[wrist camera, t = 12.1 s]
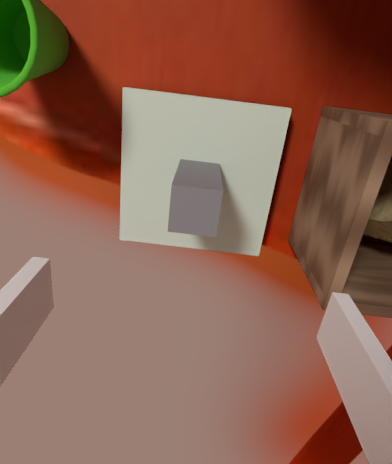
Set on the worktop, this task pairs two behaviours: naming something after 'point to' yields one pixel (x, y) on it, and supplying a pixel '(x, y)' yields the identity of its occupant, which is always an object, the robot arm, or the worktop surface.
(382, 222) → the rock
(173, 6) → the worktop surface
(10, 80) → the cup
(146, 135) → the lid
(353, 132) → the walnut box
